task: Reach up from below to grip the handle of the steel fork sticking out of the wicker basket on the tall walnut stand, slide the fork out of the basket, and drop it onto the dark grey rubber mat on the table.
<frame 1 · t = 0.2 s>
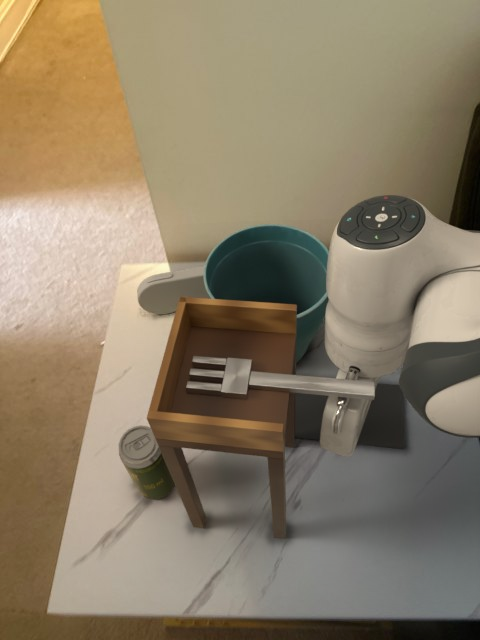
hand: (359, 402, 69), 12 cm above the table, tool pointing down, fingers open, 8 cm apart
mat: (325, 409, 82), on the table
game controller: (199, 304, 96), on the table
flower pot: (272, 342, 90), on the table
stand: (246, 480, 76), on the table
beer can: (157, 482, 77), on the table
fork: (280, 384, 55), point 26 cm above the table, touching stand
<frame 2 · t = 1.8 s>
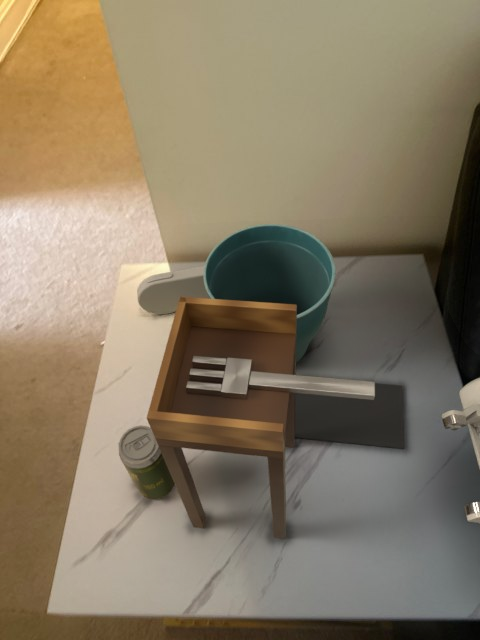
hand: (458, 463, 56), 19 cm above the table, tool pointing upward, fingers open, 8 cm apart
nothing on the table moved.
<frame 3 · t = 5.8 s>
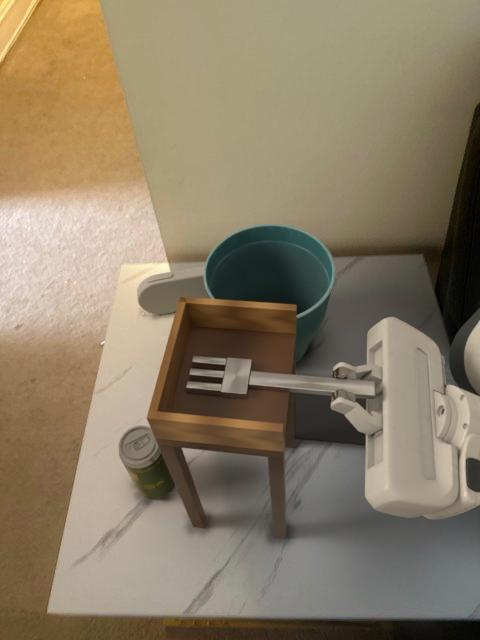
hand: (334, 384, 54), 27 cm above the table, tool pointing upward, fingers closed on fork
fork: (280, 384, 55), point 26 cm above the table, touching gripper, stand
everything else where it was.
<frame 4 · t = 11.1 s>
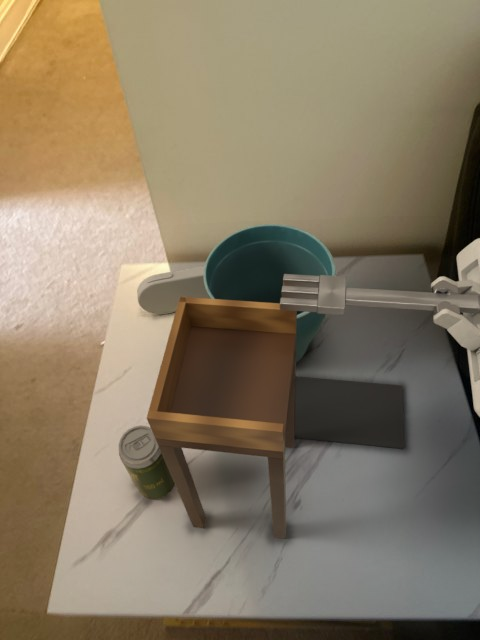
hand: (436, 298, 52), 33 cm above the table, tool pointing upward, fingers closed on fork
fork: (377, 300, 53), point 32 cm above the table, touching gripper
everything else where it was.
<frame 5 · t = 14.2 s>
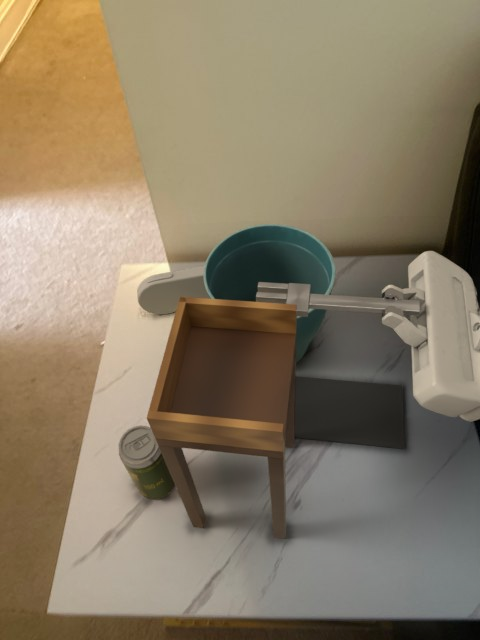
hand: (384, 303, 62), 25 cm above the table, tool pointing upward, fingers closed on fork
fork: (335, 304, 63), point 24 cm above the table, touching gripper
everything else where it was.
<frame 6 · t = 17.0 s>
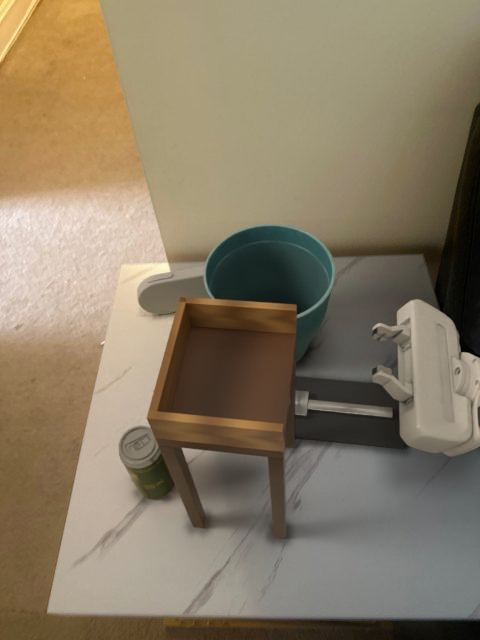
hand: (374, 350, 69), 16 cm above the table, tool pointing upward, fingers open, 5 cm apart
fork: (328, 408, 82), resting on mat
everything else where it was.
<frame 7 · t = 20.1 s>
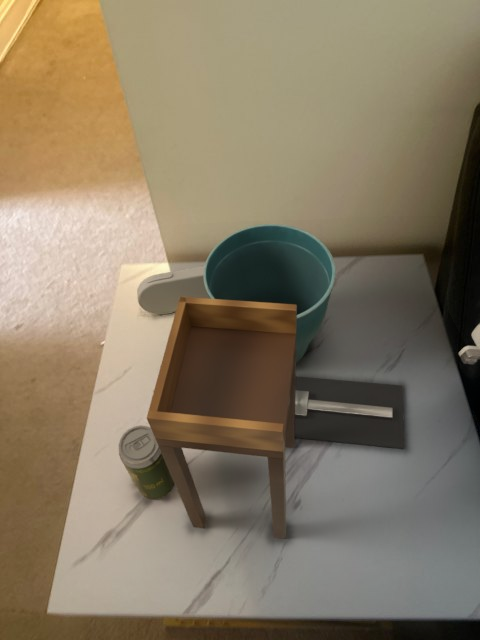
nothing on the table moved.
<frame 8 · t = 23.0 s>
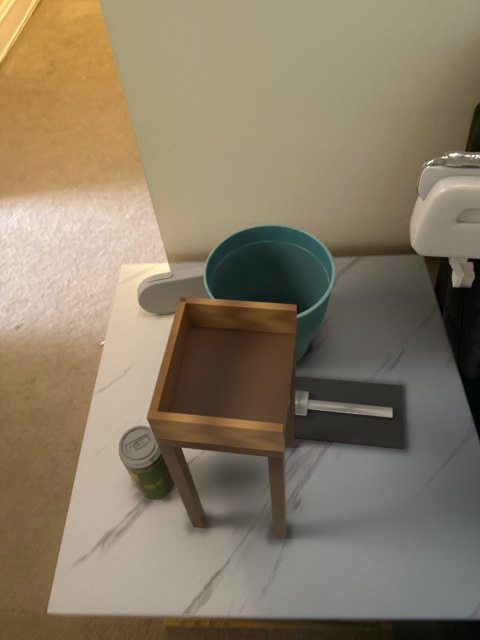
nothing on the table moved.
at the end: fork inside the target area on the mat (0.4 cm from its centre), point 0.4 cm above the mat's base; fork touching mat; the gripper is holding nothing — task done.
